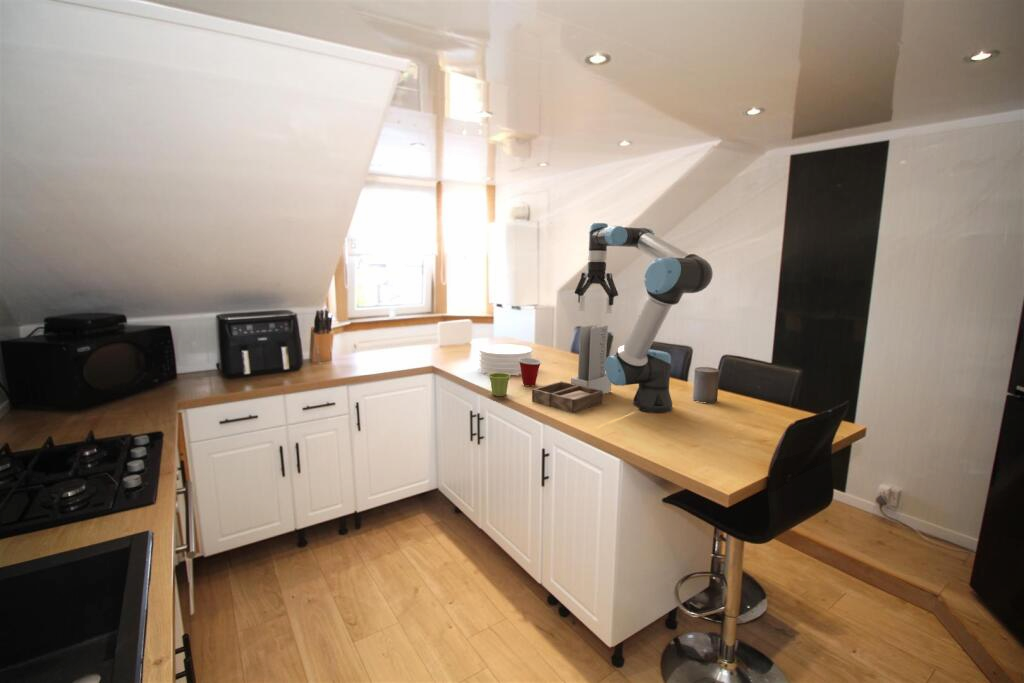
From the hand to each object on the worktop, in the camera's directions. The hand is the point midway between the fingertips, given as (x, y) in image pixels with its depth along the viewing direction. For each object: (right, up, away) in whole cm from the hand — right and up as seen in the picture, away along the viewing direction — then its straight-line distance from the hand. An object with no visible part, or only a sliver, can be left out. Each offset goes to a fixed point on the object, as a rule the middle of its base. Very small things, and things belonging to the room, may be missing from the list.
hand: (594, 311), depth 195 cm
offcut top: (-10, -36, -13) cm, 39 cm away
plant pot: (-41, -36, +3) cm, 55 cm away
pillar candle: (+46, -38, -1) cm, 60 cm away
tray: (-13, -38, -9) cm, 41 cm away
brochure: (-1, -36, +6) cm, 37 cm away
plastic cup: (-27, -33, +20) cm, 47 cm away
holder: (-1, -36, +6) cm, 36 cm away
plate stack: (-39, -28, +51) cm, 70 cm away
